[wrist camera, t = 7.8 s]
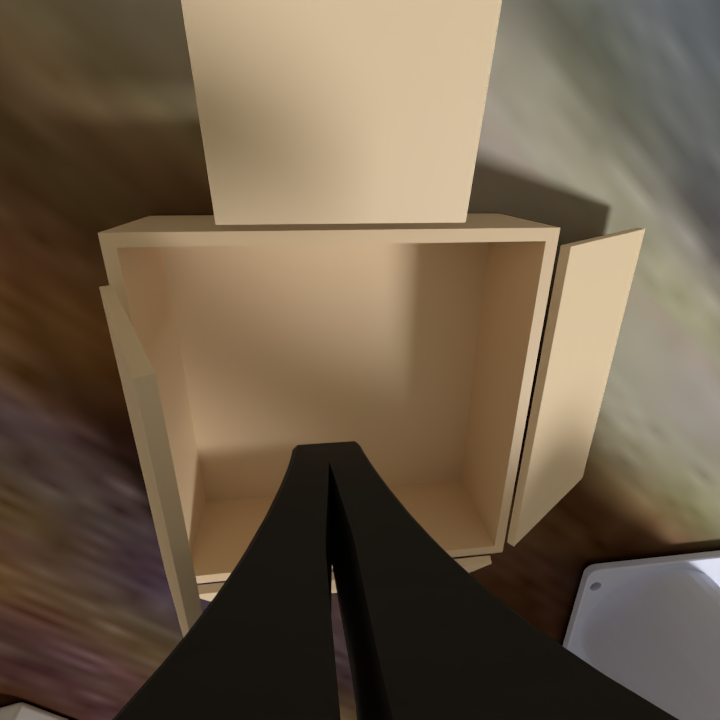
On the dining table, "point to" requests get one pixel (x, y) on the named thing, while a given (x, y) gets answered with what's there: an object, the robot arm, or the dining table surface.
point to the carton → (339, 361)
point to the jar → (26, 713)
